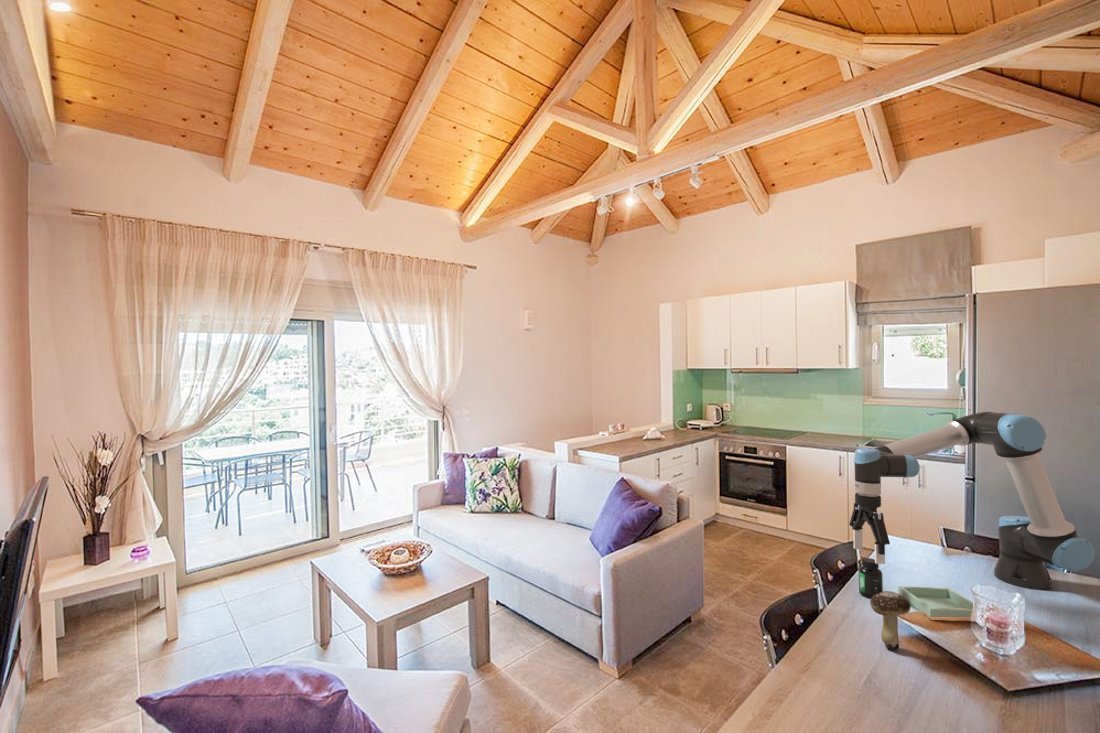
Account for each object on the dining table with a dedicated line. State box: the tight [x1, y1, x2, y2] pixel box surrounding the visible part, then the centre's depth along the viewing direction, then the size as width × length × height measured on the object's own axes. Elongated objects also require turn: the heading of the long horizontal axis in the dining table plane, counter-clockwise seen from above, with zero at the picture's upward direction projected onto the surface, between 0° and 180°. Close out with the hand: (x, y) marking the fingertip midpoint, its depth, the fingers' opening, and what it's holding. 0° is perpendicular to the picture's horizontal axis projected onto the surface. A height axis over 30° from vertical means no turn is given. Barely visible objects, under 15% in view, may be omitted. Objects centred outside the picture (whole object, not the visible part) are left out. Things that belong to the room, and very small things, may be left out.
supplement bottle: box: [858, 557, 884, 599], centre depth 165 cm, size 7×7×12 cm
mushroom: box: [869, 590, 911, 652], centre depth 133 cm, size 9×9×15 cm
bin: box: [897, 585, 974, 617], centre depth 155 cm, size 16×16×4 cm
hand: (868, 555), depth 165 cm, fingers open, 13 cm apart
